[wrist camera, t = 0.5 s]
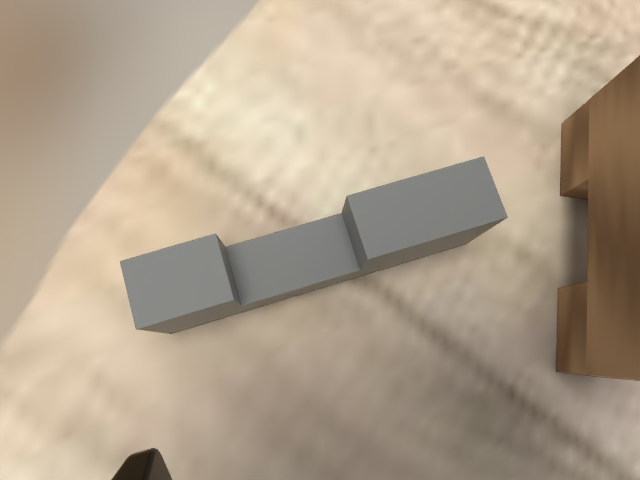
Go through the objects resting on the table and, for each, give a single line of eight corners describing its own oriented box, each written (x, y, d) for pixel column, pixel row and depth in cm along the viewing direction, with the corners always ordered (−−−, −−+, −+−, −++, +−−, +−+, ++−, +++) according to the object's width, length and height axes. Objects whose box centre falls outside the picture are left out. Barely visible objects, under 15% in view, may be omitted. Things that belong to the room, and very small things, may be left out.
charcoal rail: (447, 194, 25) (483, 156, 20) (465, 244, 24) (507, 217, 19) (157, 279, 23) (119, 261, 18) (171, 333, 23) (136, 329, 18)
